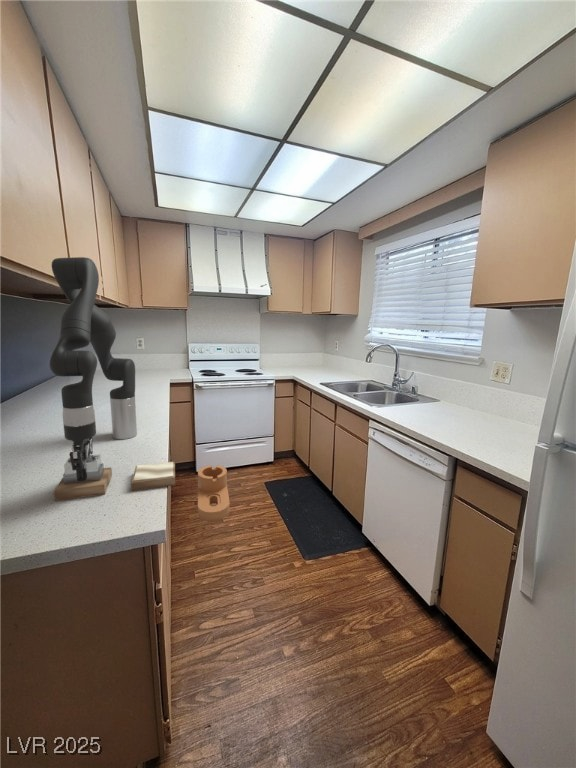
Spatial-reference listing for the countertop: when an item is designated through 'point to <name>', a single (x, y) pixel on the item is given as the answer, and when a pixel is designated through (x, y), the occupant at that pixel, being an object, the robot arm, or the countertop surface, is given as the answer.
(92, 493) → the stand
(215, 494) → the bracket
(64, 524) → the countertop surface
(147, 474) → the stand
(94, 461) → the block
